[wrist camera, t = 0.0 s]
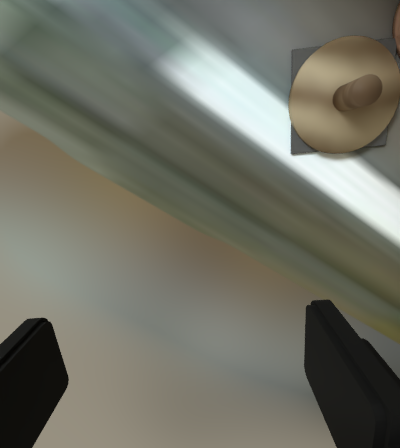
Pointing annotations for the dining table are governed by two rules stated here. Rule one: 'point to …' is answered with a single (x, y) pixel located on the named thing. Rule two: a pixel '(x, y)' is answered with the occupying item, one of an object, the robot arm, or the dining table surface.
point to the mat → (297, 61)
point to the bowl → (397, 29)
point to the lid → (344, 94)
